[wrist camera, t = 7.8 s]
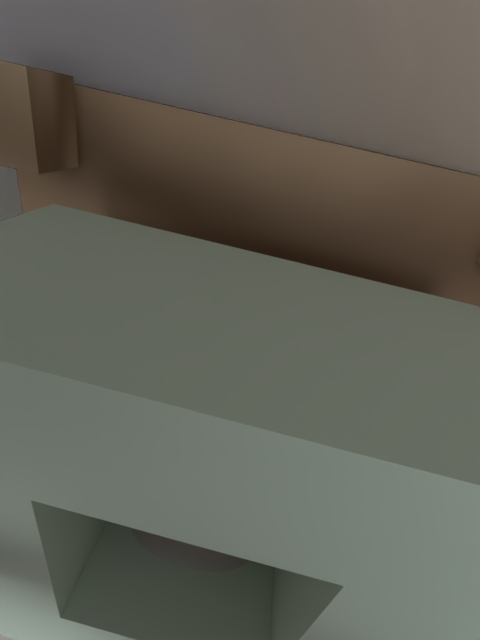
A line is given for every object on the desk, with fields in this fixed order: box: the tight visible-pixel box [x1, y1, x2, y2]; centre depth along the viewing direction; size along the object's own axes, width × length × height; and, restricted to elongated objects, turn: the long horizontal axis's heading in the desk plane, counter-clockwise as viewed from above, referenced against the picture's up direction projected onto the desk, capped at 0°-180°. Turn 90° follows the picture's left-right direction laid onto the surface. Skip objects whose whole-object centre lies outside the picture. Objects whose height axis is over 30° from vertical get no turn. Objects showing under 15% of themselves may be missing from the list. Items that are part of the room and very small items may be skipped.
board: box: [0, 60, 480, 572], centre depth 12 cm, size 18×18×8 cm
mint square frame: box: [0, 204, 480, 640], centre depth 10 cm, size 12×12×7 cm
